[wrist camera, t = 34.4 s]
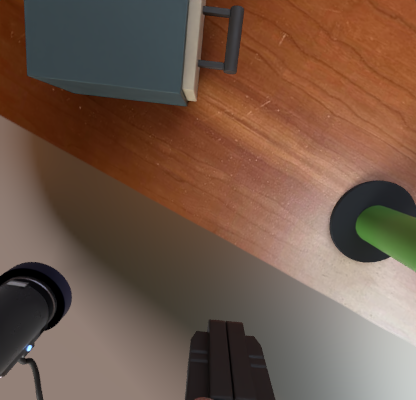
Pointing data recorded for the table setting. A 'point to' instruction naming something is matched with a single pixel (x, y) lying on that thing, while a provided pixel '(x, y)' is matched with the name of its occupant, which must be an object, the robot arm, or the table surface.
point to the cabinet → (109, 47)
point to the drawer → (194, 44)
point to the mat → (355, 205)
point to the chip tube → (389, 233)
